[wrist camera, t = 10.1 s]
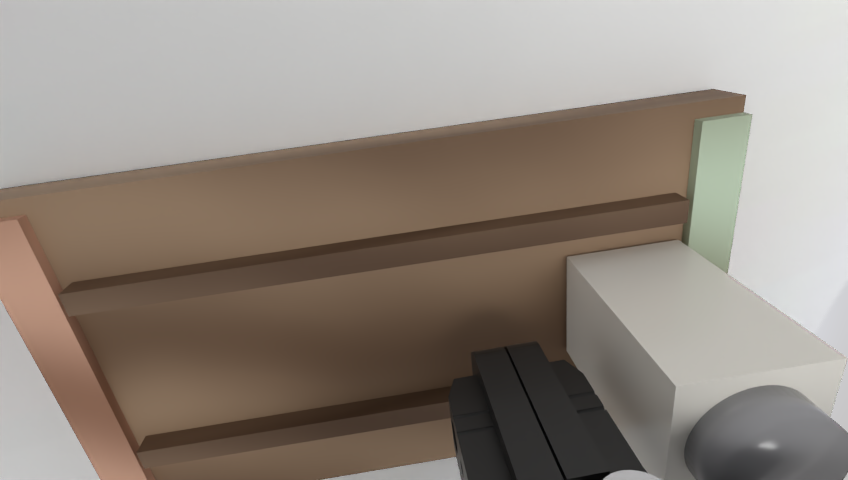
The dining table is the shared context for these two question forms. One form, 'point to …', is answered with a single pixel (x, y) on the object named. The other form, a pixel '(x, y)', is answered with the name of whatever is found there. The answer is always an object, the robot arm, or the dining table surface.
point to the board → (341, 279)
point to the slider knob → (703, 368)
